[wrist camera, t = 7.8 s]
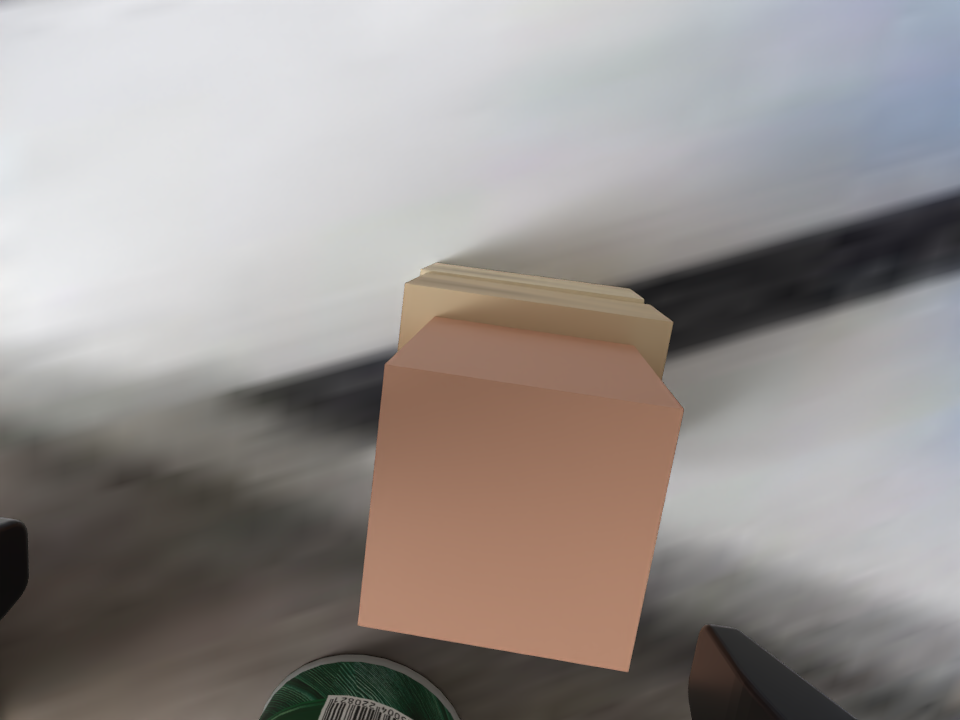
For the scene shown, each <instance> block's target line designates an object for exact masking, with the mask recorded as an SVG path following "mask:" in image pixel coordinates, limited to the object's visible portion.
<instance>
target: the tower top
mask: <svg viewBox="0 0 960 720" xmlns="http://www.w3.org/2000/svg"><path fill="white" fill-rule="evenodd" d="M434 316H436V317H443V318H449V319H456V320H463V321H470V322H477V323H484V324H490V325H497V326H504V327H511V328H518V329H525V330H531V331H538V332H545V333H552V334H559V335H566V336H572V337H579V338H586V339H593V340H600V341H607V342H613V343H620V344H627V345H634V346H635V347H636V349H637V350H638V351H639V353H640V354H641V355H642V356H643V358H644V359H645V360H646V362H647V363H648V364H649V365H650V367H651V368H652V369H653V370H654V372H655V373H656V374H657V376H658V377H659V378H660V379H661V381H662V376H663V371H664V366H665V361H666V356H667V351H668V346H669V341H670V336H671V331H672V326H673V322H672V321H671V320H670V319H668V318H667V317H666V316H664V315H663V314H662V313H660V312H659V311H658V310H656V309H655V308H654V307H652V306H651V305H648V304H641V303H634V302H627V301H620V300H613V299H607V298H600V297H593V296H586V295H579V294H572V293H565V292H558V291H551V290H544V289H537V288H530V287H523V286H516V285H509V284H502V283H495V282H488V281H481V280H474V279H467V278H460V277H453V276H446V275H439V274H432V273H425V274H423V275H421V276H419V277H417V278H415V279H413V280H411V281H409V282H407V283H405V288H404V297H403V306H402V316H401V325H400V334H399V343H398V351H399V350H400V349H401V348H402V347H403V346H404V345H405V344H406V343H408V342H409V341H410V340H411V339H412V338H413V337H414V336H415V335H416V334H417V333H418V332H419V331H420V330H421V329H422V328H423V327H424V326H425V325H426V324H427V323H428V322H429V321H430V320H431V319H432V318H433V317H434Z"/></svg>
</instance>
